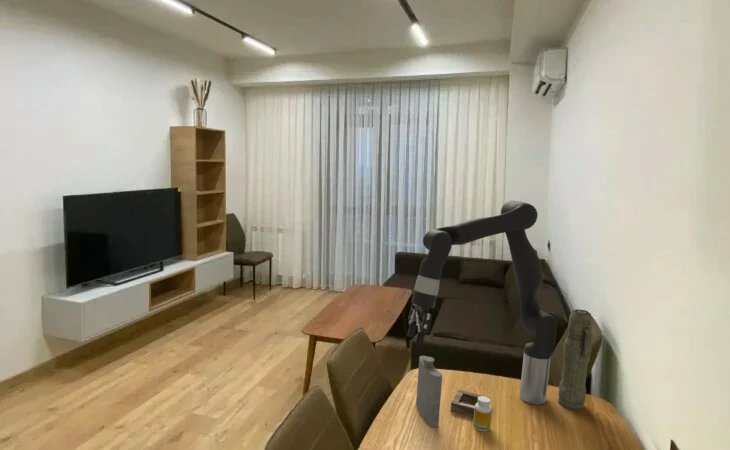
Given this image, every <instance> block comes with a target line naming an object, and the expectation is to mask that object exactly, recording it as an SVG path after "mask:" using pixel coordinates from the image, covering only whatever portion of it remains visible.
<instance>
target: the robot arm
mask: <svg viewBox="0 0 730 450" xmlns="http://www.w3.org/2000/svg"><path fill="white" fill-rule="evenodd" d="M537 219H538V211H537V208H536V206H534V205H532V204H531V203H528V202H524V201H519V200H507V201H506V202H505V203H503V205H502V207H501V209H500V214H498V215H493V216H485V217H476V218H472V219H469V220H465V221H462V222H459V223H455V224H453V225H449V226H448V225H447V226H443V227H437V228H434V229H433V228H432V229H431V230H428V231H427V232H425V234H424V236H423V238H422V243H423V246H424V247H425V248H426V249H427V250H428V254H427V255H426V258H423V259H422V260H421V263H420V265H419V266H420V267H419V271H418V275H417V278H416V281H415V285H414V287H413V288H414V289H413V292H412V298H411V303H412V304H411V306H410V311H409V314H408V317H407V321H408V325H409V326H408V330H407V337H408V338H415V335H416V338H415V344H416V345H419V346H422V345H423V344H424V340H425V336H426V334H429V333H430V329H431V325H432V319H433V313H429V309H434V308H435V307H436V302H437V298H438V297H437V296H438V293H439V288H440V281H441V277H442V272H443V267H444V265H445V263H446V261H447V260H448V257H449V256H450V253H451V250H452V246H455V245H456V246H463V245H465V244H468V243H471V242H475V241H477V240H481V239H483V238H488V237H491V236H495V235H499V234H504V233H505V236H506V239H507V244H508V247H509V252H510V257H511V261H512V267H513V272H514V277H515V282H516V285H517V290H518V291H517V292H518V296H519V303H520V304H519V305H520V315H521V321H522V322H521V323H522V327H523V328H524V330H525V331H526V332H527V333H529V334H531V335H533V336H534V339H533V340H534V341H533V342H527V343H526V344H525V345H524V348H523V359H522V368H521V369H522V370H521V378H520V379H521V380H520V386H519V398H520V399H521V400H522V401H524V402H526V403H527V404H531V405H544V404H545V403H546V401H547V392H548V385H549V376H550V366H551V357H552V352H553V351H554V349H555V344H556V337H557V333H558V321H557V319H556V317H555V316H554V315H551V314H550V313H547V312H546V311H543V310H542V309H541V307H540V304H539V297H538V295H539V294H538V293H539V291H540V289H541V287H542V284H543V280H544V276H543V268H542V263H541V260H540V257H539V256H538V254H537V252H536V250H535V249H534V247H533V245H532V244H531V242H530V241H529V239H528V235H527V233H526V230H528V229H530V228H532V227H534V225H535V223H536V222H537ZM416 331H417V334H416Z"/></svg>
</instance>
